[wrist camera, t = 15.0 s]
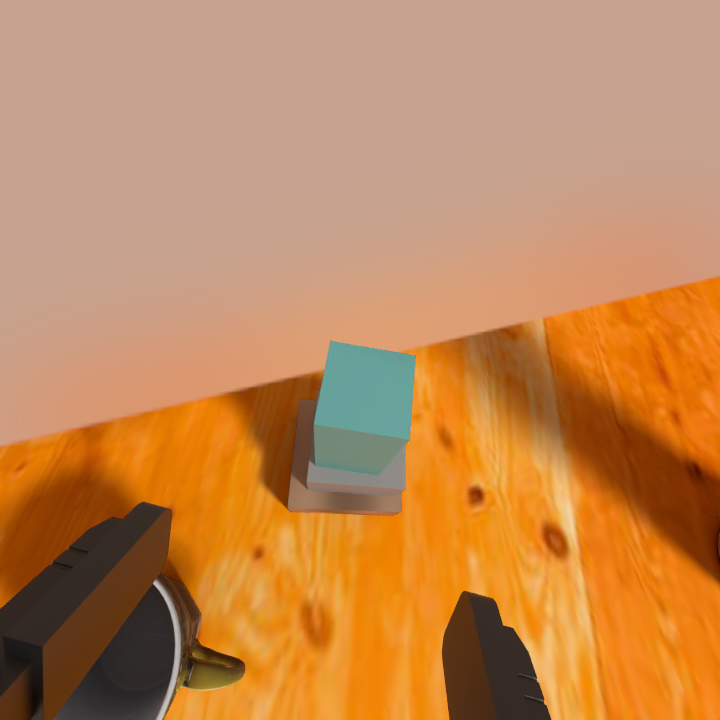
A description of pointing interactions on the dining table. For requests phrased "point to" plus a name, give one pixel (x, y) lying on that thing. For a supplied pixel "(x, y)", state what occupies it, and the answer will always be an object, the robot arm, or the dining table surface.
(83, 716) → the ceramic cup
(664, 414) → the dining table surface
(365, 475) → the tower top
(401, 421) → the teal column
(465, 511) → the dining table surface
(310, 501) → the tower base
